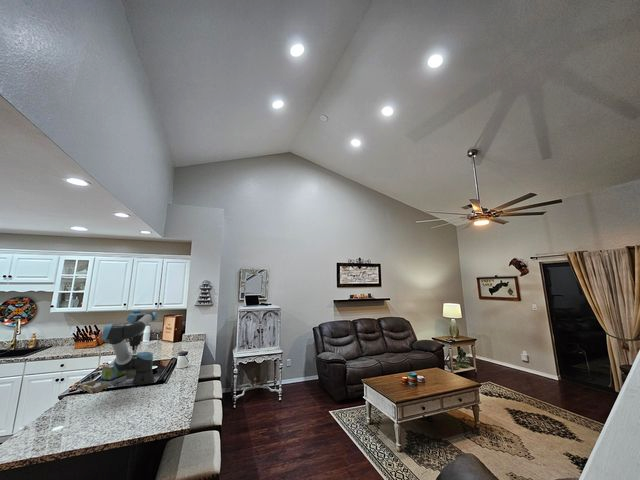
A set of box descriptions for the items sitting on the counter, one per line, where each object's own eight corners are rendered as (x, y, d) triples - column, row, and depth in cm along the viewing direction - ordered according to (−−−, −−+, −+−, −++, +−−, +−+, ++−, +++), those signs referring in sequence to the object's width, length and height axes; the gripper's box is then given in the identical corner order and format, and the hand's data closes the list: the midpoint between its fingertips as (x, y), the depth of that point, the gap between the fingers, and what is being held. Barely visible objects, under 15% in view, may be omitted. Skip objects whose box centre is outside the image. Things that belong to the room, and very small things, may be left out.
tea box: (110, 386, 224) (111, 367, 225) (100, 385, 226) (101, 366, 227) (126, 379, 238) (127, 361, 240) (116, 378, 240) (118, 360, 242)
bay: (108, 388, 219) (108, 383, 219) (93, 393, 210) (93, 388, 210) (94, 385, 226) (94, 380, 226) (79, 390, 217) (80, 384, 217)
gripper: (140, 325, 259) (138, 351, 256) (126, 327, 247) (124, 355, 244) (145, 325, 256) (144, 352, 253) (131, 328, 244) (129, 356, 242)
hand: (134, 353), depth 249 cm, fingers closed
